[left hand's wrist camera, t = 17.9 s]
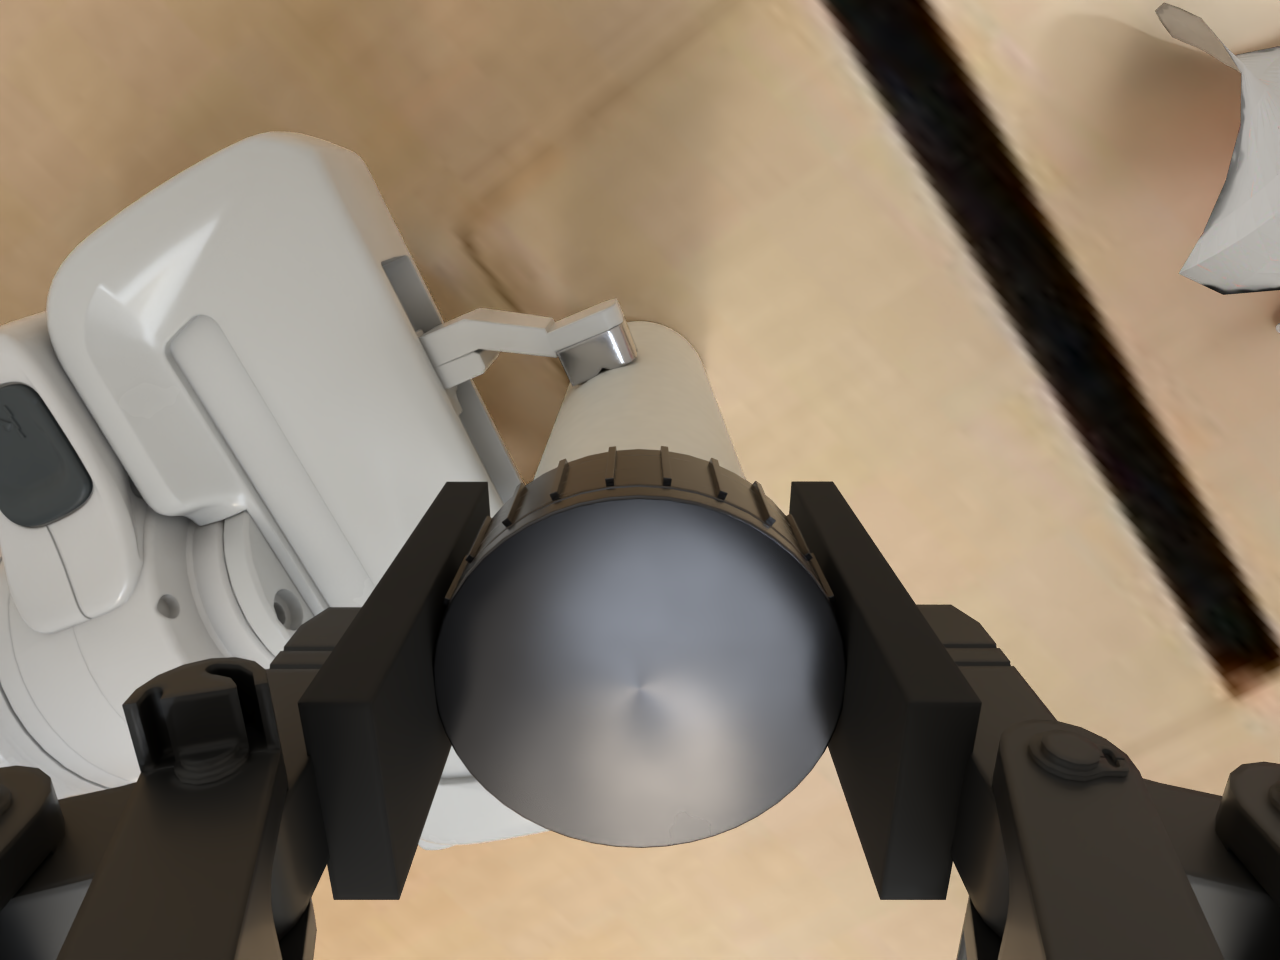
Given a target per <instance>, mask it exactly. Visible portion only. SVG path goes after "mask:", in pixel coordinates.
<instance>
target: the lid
mask: <svg viewBox="0 0 1280 960" xmlns="http://www.w3.org/2000/svg"><path fill="white" fill-rule="evenodd" d="M833 602H836V598H835V596H834V594H833V592H832V589H831V587H830V585H829V583H828V581H827V579H826V577H825V575H824V573H823V571H822V569H821V567H820V565H819V563H818V561H817V559H816V557H815V555H814V553H811V552H810V550H809V548H808V546H807V544H806V542H805V540H804V538H803V536H802V533H801V531H800V529H799V527H798V525H797V523H796V521H795V519H794V517H793V516H792V515H791V514H789V515H787V516H785V514H784V513H783V512H782V511H781V510H780V509H779V508H778V507H777V506H776V504H775V503H774V502H773V501H772V500H771V499H770V498H768V497H767V496H766V495H765V493H764V491H763V488H762V486H761V484H759V483H758V482H757V481H755V482H754V483H753V484H751V483H749V482H748V481H746V480H745V479H743V478H742V477H740V476H739V475H737V474H735V473H734V472H732V471H729V470H727V469H725V468H723V467H721V466H719V462H718V460H717V459H714V458H711V459H710V461H706V460H703V459H700V458H697V457H693V456H690V455H686V454H681V453H675V452H670V451H669V450H668V447H666V446H661V449H660V450H647V449H631V450H617V449H616V446H613V447H609V450H608V452H604V453H599V454H594V455H589V456H586V457H583V458H580V459H577V460H574V461H571V462H567V460H566V459H563V460H561V461H559V464H558V467H557V468H555V469H552V470H550V471H548V472H546V473H544V474H542V475H541V476H539V477H538V478H536V479H535V480H533V481H532V482H530V483H529V484H527V485H526V486H525V485H524V484H523V483H520V484H519V485H518V486H517V487H516V489H515V492H514V494H513V496H512V497H511V498H510V499H509V500H508V501H507V502H506V503H505V504H504V505H503V506H502V507H501V508H500V509H499V511H498V512H497V513H496V514H495V515H494V516H493V518H491V517H489V516H487V517H486V518H485V519H484V521H483V523H482V525H481V527H480V529H479V532H478V534H477V536H476V538H475V540H474V542H473V544H472V546H471V548H470V550H469V552H468V554H467V555H465V556H464V558H463V560H462V562H461V564H460V566H459V568H458V571H457V573H456V575H455V577H454V579H453V581H452V583H451V585H450V587H449V589H448V591H447V593H446V595H445V597H444V600H443V603H442V604H445V605H447V607H446V610H445V612H444V614H443V616H442V618H441V622H440V625H439V629H438V632H437V636H436V640H435V645H434V654H433V663H432V667H433V679H434V689H435V697H436V705H437V710H438V714H439V717H440V719H441V722H442V725H443V728H444V731H445V733H446V735H447V737H448V739H449V741H450V743H451V745H452V747H453V749H454V750H455V752H456V754H457V756H458V757H459V758H460V760H461V761H462V763H463V764H464V765H465V767H466V768H467V769H468V771H469V772H470V773H471V774H472V776H473V777H474V778H475V779H476V780H477V781H478V782H479V783H480V784H481V785H482V786H483V787H484V788H485V789H486V790H487V791H488V792H489V793H490V794H492V795H493V796H494V797H495V798H496V799H498V800H499V801H500V802H501V803H502V804H504V805H505V806H507V807H508V808H510V809H511V810H513V811H514V812H516V813H517V814H519V815H520V816H522V817H523V818H525V819H527V820H529V821H531V822H533V823H535V824H537V825H539V826H541V827H543V828H545V829H548V830H551V831H553V832H556V833H559V834H562V835H564V836H567V837H570V838H574V839H578V840H582V841H586V842H590V843H595V844H602V845H609V846H615V847H635V848H645V847H663V846H671V845H677V844H684V843H690V842H694V841H697V840H701V839H705V838H709V837H712V836H715V835H718V834H721V833H723V832H726V831H728V830H731V829H734V828H736V827H738V826H740V825H742V824H744V823H746V822H748V821H750V820H752V819H754V818H756V817H758V816H759V815H761V814H762V813H764V812H765V811H767V810H768V809H770V808H771V807H773V806H774V805H776V804H777V803H778V802H780V801H781V800H782V799H783V798H784V797H786V796H787V795H788V794H789V793H790V792H791V791H793V790H794V789H795V788H796V787H797V786H798V785H799V784H800V783H801V781H802V780H803V779H804V778H805V777H806V776H807V775H808V774H809V773H810V772H811V770H812V769H813V768H814V766H815V765H816V763H817V762H818V760H819V759H820V757H821V756H822V755H823V753H824V752H825V750H826V748H827V746H828V744H829V742H830V740H831V738H832V736H833V734H834V732H835V730H836V727H837V724H838V721H839V718H840V715H841V712H842V708H843V701H844V692H845V683H846V673H847V657H846V649H845V641H844V637H843V634H842V630H841V627H840V623H839V620H838V617H837V614H836V612H835V610H834V608H833V606H832V604H831V603H833Z"/></svg>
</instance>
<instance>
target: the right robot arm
mask: <svg viewBox="0 0 1280 960" xmlns="http://www.w3.org/2000/svg"><path fill="white" fill-rule="evenodd" d="M500 351H501V352H510V353H519V354H528V355H536V356H545V357H554V358H557V357H559V359H560V361H561V363H562V365H563V368H564V370H565V372H566V374H567V376H568V378H569V380H570V382H571V384H572V386H575V385H577V384H580V383H582V382H585V381H587V380H590V379H592V378H594V377H596V376H597V375H598V374H599V372H600V371H601V369H602V368H606V369H611V370H612V369H616V368H619V367H622V366H624V365H626V364H628V363H630V362H632V361H633V360H635V359H636V358H637V356H638V354H637V352H638V349H637V347H636V344H635V342H634V339H633V337H632V334H631V332H630V329H629V326H628V324H627V321H626V319H625V316H624V314H623V311H622V309H621V307H620V304H619V302H618V300H617V298H614V299H610V300H607V301H604V302H601V303H599V304H597V305H594V306H592V307H589V308H587V309H585V310H582V311H580V312H578V313H575V314H573V315H570V316H568V317H566V318H563V319H561V320H558V321H556V322H555V321H554V319H553V318H551V317H544V316H537V315H530V314H523V313H516V312H509V311H502V310H495V309H488V308H481V307H480V308H477V309H475V310H473V311H470V312H468V313H466V314H463V315H461V316H459V317H457V318H454V319H452V320H450V321H447V322H445V323H444V321H443V319H442V317H441V315H440V313H439V311H438V309H437V307H436V305H435V303H434V301H433V299H432V297H431V295H430V292H429V290H428V288H427V286H426V284H425V282H424V280H423V278H422V276H421V274H420V272H419V270H418V268H417V266H416V264H415V262H414V260H413V258H412V256H411V254H410V252H409V250H408V248H407V246H406V244H405V242H404V240H403V238H402V236H401V234H400V232H399V230H398V228H397V226H396V224H395V222H394V220H393V218H392V216H391V214H390V212H389V210H388V208H387V206H386V204H385V202H384V200H383V198H382V196H381V194H380V192H379V189H378V187H377V185H376V183H375V181H374V179H373V177H372V175H371V173H370V171H369V169H368V167H367V165H366V164H365V162H364V161H363V159H362V158H361V157H360V156H359V155H358V154H356V153H355V152H353V151H351V150H349V149H347V148H344V147H342V146H339V145H337V144H334V143H331V142H329V141H326V140H324V139H321V138H317V137H314V136H310V135H306V134H302V133H297V132H287V131H271V132H265V133H260V134H256V135H253V136H250V137H247V138H245V139H242V140H240V141H238V142H236V143H234V144H232V145H230V146H227V147H225V148H223V149H221V150H220V151H218V152H216V153H214V154H212V155H210V156H209V157H207V158H205V159H203V160H201V161H199V162H198V163H196V164H194V165H192V166H191V167H189V168H187V169H185V170H184V171H182V172H180V173H179V174H177V175H175V176H174V177H172V178H170V179H169V180H167V181H165V182H164V183H162V184H161V185H159V186H158V187H156V188H154V189H153V190H151V191H150V192H148V193H147V194H145V195H144V196H142V197H141V198H139V199H138V200H136V201H135V202H133V203H132V204H130V205H129V206H127V207H126V208H124V209H123V210H122V211H120V212H119V213H118V214H116V215H115V216H114V217H112V218H111V219H110V220H108V221H107V222H106V223H104V224H103V225H102V226H100V227H99V228H97V229H96V230H95V231H93V232H92V233H91V234H90V235H89V236H87V237H86V238H85V239H84V240H83V241H81V242H80V243H79V244H78V245H77V246H76V247H75V248H74V249H73V250H72V251H71V252H70V254H69V255H68V256H67V257H66V258H65V260H64V261H63V262H62V264H61V265H60V267H59V269H58V270H57V272H56V274H55V276H54V278H53V280H52V283H51V285H50V288H49V292H48V296H47V304H46V311H43V312H40V313H37V314H33V315H30V316H27V317H24V318H21V319H17V320H14V321H11V322H8V323H6V324H3V325H1V326H0V768H1V767H8V766H15V765H18V766H27V767H35V768H39V769H40V770H42V771H43V772H44V773H46V774H47V775H48V776H50V777H51V780H52V783H53V786H54V789H55V792H56V795H57V798H58V800H59V799H63V798H68V797H73V796H77V795H82V794H87V793H92V792H96V791H101V790H106V789H110V788H115V787H120V786H124V785H127V784H131V783H134V782H137V780H138V778H139V775H140V773H141V771H140V768H139V764H138V761H137V757H136V754H135V750H134V746H133V743H132V739H131V736H130V732H129V728H128V725H127V721H126V718H125V714H124V711H123V707H122V704H123V703H124V702H125V701H126V700H127V699H128V698H129V696H130V695H131V694H132V693H133V692H134V691H135V690H136V689H137V688H139V687H140V686H142V685H143V684H145V683H146V682H148V681H149V680H151V679H153V678H154V677H156V676H157V675H159V674H162V673H164V672H167V671H169V670H172V669H174V668H176V667H179V666H181V665H184V664H188V663H192V662H197V661H201V660H205V659H210V658H226V657H238V658H243V659H247V660H252V661H255V662H257V663H258V664H259V665H261V666H262V667H263V668H264V669H269V668H270V663H271V662H272V661H273V660H274V658H275V657H276V656H277V655H278V653H279V652H280V651H283V650H284V646H285V644H286V643H287V642H288V641H289V639H290V638H291V637H292V636H293V634H294V633H295V632H296V631H297V629H298V628H299V627H300V625H302V624H304V623H305V622H307V621H308V620H310V619H311V618H313V617H314V616H316V615H317V614H319V613H321V612H322V611H324V610H325V609H327V608H328V607H362V606H363V605H364V603H365V602H366V600H367V599H368V597H369V596H370V594H371V593H372V591H373V590H374V588H375V587H376V585H377V584H378V583H379V581H380V580H381V578H382V577H383V575H384V574H385V572H386V571H387V569H388V568H389V566H390V565H391V563H392V562H393V560H394V559H395V557H396V556H397V554H398V553H399V551H400V550H401V548H402V547H403V546H404V544H405V543H406V541H407V540H408V538H409V537H410V535H411V534H412V532H413V531H414V529H415V528H416V526H417V525H418V523H419V522H420V520H421V519H422V517H423V516H424V514H425V513H426V511H427V510H428V509H429V507H430V506H431V504H432V503H433V501H434V500H435V498H436V497H437V495H438V494H439V492H440V491H441V489H442V488H443V486H444V485H445V483H446V482H488V490H489V504H490V517H491V518H493V516H494V515H495V514H496V513H497V512H498V511H499V509H500V508H501V507H502V506H503V505H504V504H505V503H506V502H507V501H508V500H509V499H510V498H511V497H512V496H513V494H514V492H515V489H516V487H517V486H518V485H519V484H520V483H523V481H522V479H521V477H520V475H519V473H518V470H517V468H516V466H515V464H514V462H513V460H512V458H511V456H510V454H509V452H508V450H507V448H506V446H505V444H504V442H503V440H502V438H501V436H500V434H499V432H498V430H497V428H496V426H495V424H494V422H493V420H492V418H491V416H490V414H489V412H488V410H487V408H486V406H485V404H484V402H483V400H482V398H481V396H480V394H479V392H478V390H477V388H476V386H475V383H474V381H473V379H472V378H474V377H476V376H479V375H481V374H483V373H485V371H486V370H487V369H488V368H489V367H490V366H491V364H492V363H493V362H494V361H495V360H496V359H497V358H498V356H499V354H500ZM523 484H524V483H523ZM547 831H551V830H548V829H545V828H543V827H541V826H539V825H537V824H535V823H533V822H531V821H529V820H527V819H525V818H523V817H522V816H520V815H519V814H517V813H516V812H514V811H513V810H511V809H510V808H508V807H507V806H505V805H504V804H502V803H501V802H500V801H499V800H498V799H496V798H495V797H494V796H493V795H492V794H490V793H489V792H488V791H487V790H486V789H485V788H484V787H483V786H482V785H481V784H480V783H479V782H478V781H477V780H476V779H475V778H474V777H473V776H472V774H471V773H470V772H469V771H468V769H467V768H466V767H465V765H464V764H463V763H462V761H461V760H460V758H459V757H458V756H457V754H456V752H455V750H454V749H453V747H452V746H451V749H450V752H449V755H448V758H447V761H446V764H445V767H444V770H443V773H442V776H441V779H440V782H439V785H438V787H437V790H436V793H435V796H434V799H433V802H432V805H431V808H430V811H429V814H428V817H427V820H426V823H425V826H424V828H423V831H422V834H421V837H420V840H419V843H418V845H419V846H420V847H421V848H423V849H425V850H440V849H445V848H449V847H452V846H455V845H468V844H478V843H485V842H492V841H498V840H504V839H510V838H516V837H521V836H526V835H532V834H537V833H542V832H547Z"/></svg>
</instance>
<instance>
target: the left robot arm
mask: <svg viewBox="0 0 1280 960" xmlns="http://www.w3.org/2000/svg"><path fill="white" fill-rule="evenodd" d="M789 514H791V515H792V516H793V517H794V519H795V521H796V523H797V525H798V527H799V529H800V531H801V533H802V536H803V538H804V540H805V542H806V544H807V546H808V548H809V550H810V552H811V553H814V555H815V557H816V559H817V561H818V563H819V565H820V567H821V569H822V571H823V573H824V575H825V577H826V579H827V581H828V583H829V585H830V587H831V589H832V592H833V594H834V596H835V598H836V602H833V603H831V604H832V606H833V608H834V610H835V612H836V614H837V617H838V620H839V623H840V627H841V630H842V634H843V637H844V641H845V649H846V657H847V673H846V683H845V692H844V701H843V708H842V712H841V715H840V718H839V721H838V724H837V727H836V730H835V732H834V734H833V736H832V738H831V740H830V742H829V744H828V748H829V751H830V754H831V757H832V760H833V763H834V765H835V768H836V771H837V774H838V777H839V780H840V783H841V786H842V789H843V792H844V795H845V798H846V801H847V804H848V806H849V809H850V812H851V815H852V818H853V821H854V824H855V827H856V830H857V833H858V836H859V839H860V842H861V844H862V847H863V850H864V853H865V856H866V859H867V862H868V865H869V868H870V871H871V874H872V877H873V880H874V883H875V885H876V888H877V891H878V894H879V897H880V900H946V896H947V890H948V885H949V879H950V874H951V868H952V863H953V862H954V864H955V866H956V868H957V870H958V873H959V875H960V877H961V879H962V881H963V883H964V885H965V887H966V890H967V892H968V894H969V899H968V904H967V909H966V914H965V919H964V924H963V929H962V934H961V939H960V944H959V950H958V955H957V960H1280V764H1276V763H1269V762H1258V763H1250V764H1242V765H1241V766H1239V767H1238V768H1237V769H1235V770H1234V771H1233V772H1231V773H1230V775H1229V778H1228V781H1227V784H1226V787H1225V790H1224V794H1223V796H1219V795H1214V794H1209V793H1204V792H1200V791H1195V790H1190V789H1186V788H1181V787H1176V786H1171V785H1167V784H1162V783H1158V782H1154V781H1151V780H1147V779H1143V778H1142V776H1141V774H1140V772H1139V770H1138V769H1137V768H1136V766H1135V765H1134V764H1133V762H1132V761H1131V760H1130V758H1129V757H1128V756H1127V754H1125V753H1124V752H1123V751H1121V750H1120V749H1119V748H1117V747H1116V746H1115V745H1113V744H1112V743H1111V742H1109V741H1108V740H1107V739H1105V738H1103V737H1101V736H1098V735H1096V734H1094V733H1092V732H1090V731H1088V730H1086V729H1084V728H1081V727H1078V726H1074V725H1070V724H1067V723H1063V722H1059V721H1057V720H1056V719H1055V717H1054V716H1053V715H1052V714H1051V712H1050V711H1049V710H1048V709H1047V707H1046V706H1045V705H1044V703H1043V702H1042V701H1041V700H1040V698H1039V697H1038V696H1037V695H1036V693H1035V692H1034V691H1033V690H1032V688H1031V687H1030V686H1029V685H1028V683H1027V682H1026V681H1025V680H1024V678H1023V677H1022V676H1021V675H1020V673H1019V672H1018V671H1017V670H1016V668H1015V667H1014V666H1011V665H1010V661H1009V659H1008V658H1007V657H1006V656H1005V654H1004V653H1003V652H1002V651H1001V649H1000V648H996V643H995V642H994V641H993V639H992V638H991V637H990V636H989V634H988V633H987V632H986V631H985V629H984V628H983V627H982V626H981V624H980V623H979V622H977V621H976V620H974V619H973V618H971V617H969V616H968V615H966V614H965V613H963V612H962V611H960V610H959V609H957V608H955V607H954V606H952V605H916V604H915V603H914V601H913V600H912V598H911V597H910V595H909V594H908V592H907V591H906V589H905V588H904V586H903V585H902V583H901V582H900V580H899V579H898V577H897V576H896V574H895V573H894V571H893V570H892V568H891V567H890V566H889V564H888V563H887V561H886V560H885V558H884V557H883V555H882V554H881V552H880V551H879V549H878V548H877V546H876V545H875V543H874V542H873V540H872V539H871V537H870V536H869V534H868V533H867V531H866V530H865V529H864V527H863V526H862V524H861V523H860V521H859V520H858V518H857V517H856V515H855V514H854V512H853V511H852V509H851V508H850V506H849V505H848V503H847V502H846V500H845V499H844V497H843V496H842V494H841V493H840V492H839V490H838V489H837V487H836V486H835V484H834V483H833V482H792V483H791V497H790V511H789ZM487 516H489V517H490V504H489V490H488V482H446V483H445V485H444V486H443V488H442V489H441V491H440V492H439V494H438V495H437V497H436V498H435V500H434V501H433V503H432V504H431V506H430V507H429V509H428V510H427V511H426V513H425V514H424V516H423V517H422V519H421V520H420V522H419V523H418V525H417V526H416V528H415V529H414V531H413V532H412V534H411V535H410V537H409V538H408V540H407V541H406V543H405V544H404V546H403V547H402V548H401V550H400V551H399V553H398V554H397V556H396V557H395V559H394V560H393V562H392V563H391V565H390V566H389V568H388V569H387V571H386V572H385V574H384V575H383V577H382V578H381V580H380V581H379V583H378V584H377V585H376V587H375V588H374V590H373V591H372V593H371V594H370V596H369V597H368V599H367V600H366V602H365V603H364V605H363V606H362V607H328V608H327V609H325V610H324V611H322V612H321V613H319V614H317V615H316V616H314V617H313V618H311V619H310V620H308V621H307V622H305V623H304V624H302V625H300V627H299V628H298V629H297V631H296V632H295V633H294V634H293V636H292V637H291V638H290V639H289V641H288V642H287V643H286V644H285V646H284V650H283V651H280V652H279V653H278V655H277V656H276V657H275V658H274V660H273V661H272V662H271V663H270V668H269V669H264V668H263V667H262V666H261V665H259V664H258V663H257V662H255V661H252V660H247V659H243V658H238V657H226V658H210V659H205V660H201V661H197V662H192V663H188V664H184V665H181V666H179V667H176V668H174V669H172V670H169V671H167V672H164V673H162V674H159V675H157V676H156V677H154V678H153V679H151V680H149V681H148V682H146V683H145V684H143V685H142V686H140V687H139V688H137V689H136V690H135V691H134V692H133V693H132V694H131V695H130V696H129V698H128V699H127V700H126V701H125V702H124V703H123V704H122V707H123V711H124V714H125V718H126V721H127V725H128V728H129V732H130V736H131V739H132V743H133V746H134V750H135V754H136V757H137V761H138V764H139V768H140V771H141V773H140V775H139V778H138V780H137V782H134V783H131V784H127V785H124V786H120V787H115V788H110V789H106V790H101V791H96V792H92V793H87V794H82V795H77V796H73V797H68V798H63V799H59V800H58V798H57V795H56V792H55V789H54V786H53V783H52V780H51V777H50V776H48V775H47V774H46V773H44V772H43V771H42V770H40V769H39V768H35V767H27V766H18V765H15V766H8V767H1V768H0V960H313V957H314V949H315V940H316V931H317V929H316V922H315V915H314V909H313V904H312V899H311V897H312V895H313V892H314V890H315V888H316V886H317V884H318V882H319V880H320V878H321V875H322V873H323V871H324V869H325V867H326V865H327V866H328V871H329V877H330V882H331V887H332V893H333V898H334V900H399V899H400V896H401V893H402V890H403V887H404V884H405V881H406V878H407V875H408V872H409V869H410V867H411V864H412V861H413V858H414V855H415V852H416V849H417V846H418V843H419V840H420V837H421V834H422V831H423V828H424V826H425V823H426V820H427V817H428V814H429V811H430V808H431V805H432V802H433V799H434V796H435V793H436V790H437V787H438V785H439V782H440V779H441V776H442V773H443V770H444V767H445V764H446V761H447V758H448V755H449V752H450V749H451V746H452V745H451V743H450V741H449V739H448V737H447V735H446V733H445V731H444V728H443V725H442V722H441V719H440V717H439V714H438V710H437V705H436V697H435V689H434V679H433V667H432V663H433V654H434V645H435V640H436V636H437V632H438V629H439V625H440V622H441V618H442V616H443V614H444V612H445V610H446V607H447V605H445V604H442V603H443V600H444V597H445V595H446V593H447V591H448V589H449V587H450V585H451V583H452V581H453V579H454V577H455V575H456V573H457V571H458V568H459V566H460V564H461V562H462V560H463V558H464V556H465V555H467V554H468V552H469V550H470V548H471V546H472V544H473V542H474V540H475V538H476V536H477V534H478V532H479V529H480V527H481V525H482V523H483V521H484V519H485V518H486V517H487Z"/></svg>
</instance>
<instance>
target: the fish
mask: <svg viewBox="0 0 1280 960" xmlns="http://www.w3.org/2000/svg"><path fill="white" fill-rule="evenodd" d="M1155 12H1156V14H1157V15H1158V17H1159V19H1160V21H1161V23H1162V24H1163V25H1164V27H1165V28H1166V29H1167V31H1168V32H1169V33H1170V35H1171V36H1172V37H1173V38H1176V39H1178V40H1180V41H1183V42H1185V43H1188V44H1190V45H1192V46H1195V47H1197V48H1199V49H1201V50H1203V51H1205V52H1206V53H1208V54H1210V55H1211V56H1213V57H1214V58H1216V59H1218V60H1219V61H1221V62H1222V63H1224V64H1225V65H1227V66H1229V67H1232V68H1234V69H1235V70H1236V71H1238V72H1239V73H1241V124H1240V128H1239V132H1238V136H1237V140H1236V143H1235V147H1234V151H1233V155H1232V159H1231V163H1230V167H1229V170H1228V174H1227V178H1226V181H1225V184H1224V186H1223V188H1222V190H1221V193H1220V195H1219V197H1218V200H1217V202H1216V204H1215V206H1214V209H1213V211H1212V213H1211V216H1210V218H1209V220H1208V223H1207V225H1206V227H1205V229H1204V232H1203V234H1202V235H1201V237H1200V239H1199V240H1198V242H1197V244H1196V245H1195V247H1194V249H1193V250H1192V252H1191V254H1190V255H1189V257H1188V259H1187V261H1186V262H1185V264H1184V266H1183V267H1182V269H1181V271H1180V272H1179V274H1180V275H1182V276H1185V277H1187V278H1189V279H1191V280H1193V281H1195V282H1197V283H1200V284H1202V285H1204V286H1206V287H1208V288H1210V289H1212V290H1214V291H1217V292H1219V293H1221V294H1223V295H1226V294H1238V293H1249V292H1261V291H1273V290H1280V46H1278V47H1273V48H1268V49H1263V50H1258V51H1253V52H1248V53H1243V54H1238V55H1234V54H1233V53H1232V52H1231V51H1230V50H1229V49H1228V48H1227V47H1226V46H1225V45H1224V44H1223V43H1222V42H1221V41H1220V40H1219V39H1218V37H1217V36H1216V35H1215V34H1214V33H1213V32H1212V30H1211V29H1210V28H1209V27H1208V26H1207V24H1206V23H1205V22H1204V21H1203V20H1202V19H1201V18H1200V17H1198V16H1195V15H1193V14H1191V13H1189V12H1187V11H1185V10H1183V9H1181V8H1178V7H1175V6H1172V5H1169V4H1166V3H1163V4H1162V5H1161V6H1160V7H1159V8H1158V9H1157V10H1155ZM1276 330H1277V332H1279V333H1280V323H1279V324H1278V325H1277V326H1276Z"/></svg>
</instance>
